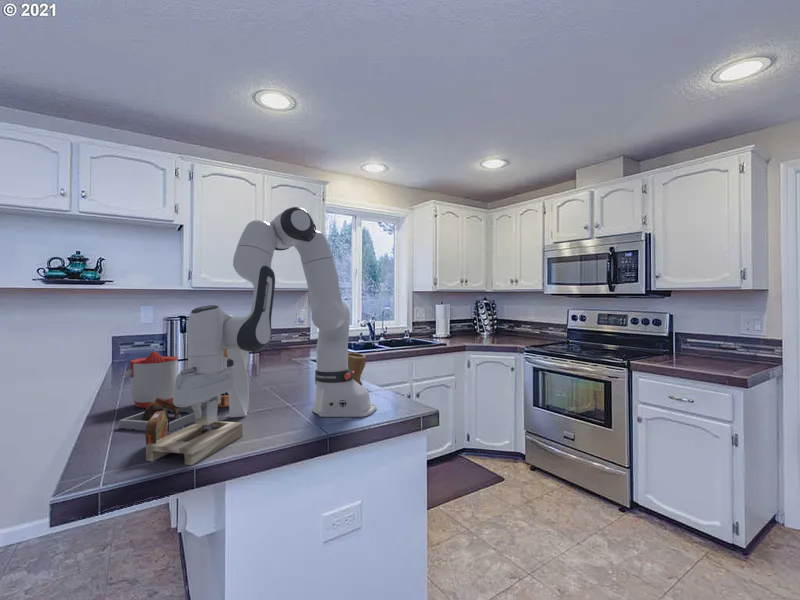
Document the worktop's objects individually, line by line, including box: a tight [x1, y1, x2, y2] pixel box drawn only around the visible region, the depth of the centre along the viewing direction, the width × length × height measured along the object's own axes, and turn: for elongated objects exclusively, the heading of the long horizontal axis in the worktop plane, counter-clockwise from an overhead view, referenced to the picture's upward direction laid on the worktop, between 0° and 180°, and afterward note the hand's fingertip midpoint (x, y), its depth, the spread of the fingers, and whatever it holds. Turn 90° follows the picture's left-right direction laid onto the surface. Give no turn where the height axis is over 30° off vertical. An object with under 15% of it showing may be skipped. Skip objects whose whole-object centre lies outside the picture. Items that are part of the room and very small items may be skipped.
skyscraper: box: [227, 349, 250, 418], centre depth 133 cm, size 8×8×28 cm
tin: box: [144, 410, 170, 446], centre depth 104 cm, size 15×3×8 cm, turn 20°
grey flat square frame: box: [118, 406, 195, 433], centre depth 128 cm, size 18×19×2 cm
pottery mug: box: [142, 398, 179, 421], centre depth 128 cm, size 12×10×8 cm
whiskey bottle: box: [218, 348, 229, 408], centre depth 149 cm, size 10×10×32 cm
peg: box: [194, 398, 218, 436], centre depth 108 cm, size 4×4×11 cm
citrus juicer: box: [123, 351, 179, 409], centre depth 147 cm, size 16×17×20 cm
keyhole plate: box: [145, 420, 244, 466], centre depth 105 cm, size 13×20×4 cm, turn 168°
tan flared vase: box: [348, 352, 367, 387], centre depth 174 cm, size 15×12×15 cm
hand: (206, 414), depth 108 cm, fingers closed on peg, 4 cm apart
